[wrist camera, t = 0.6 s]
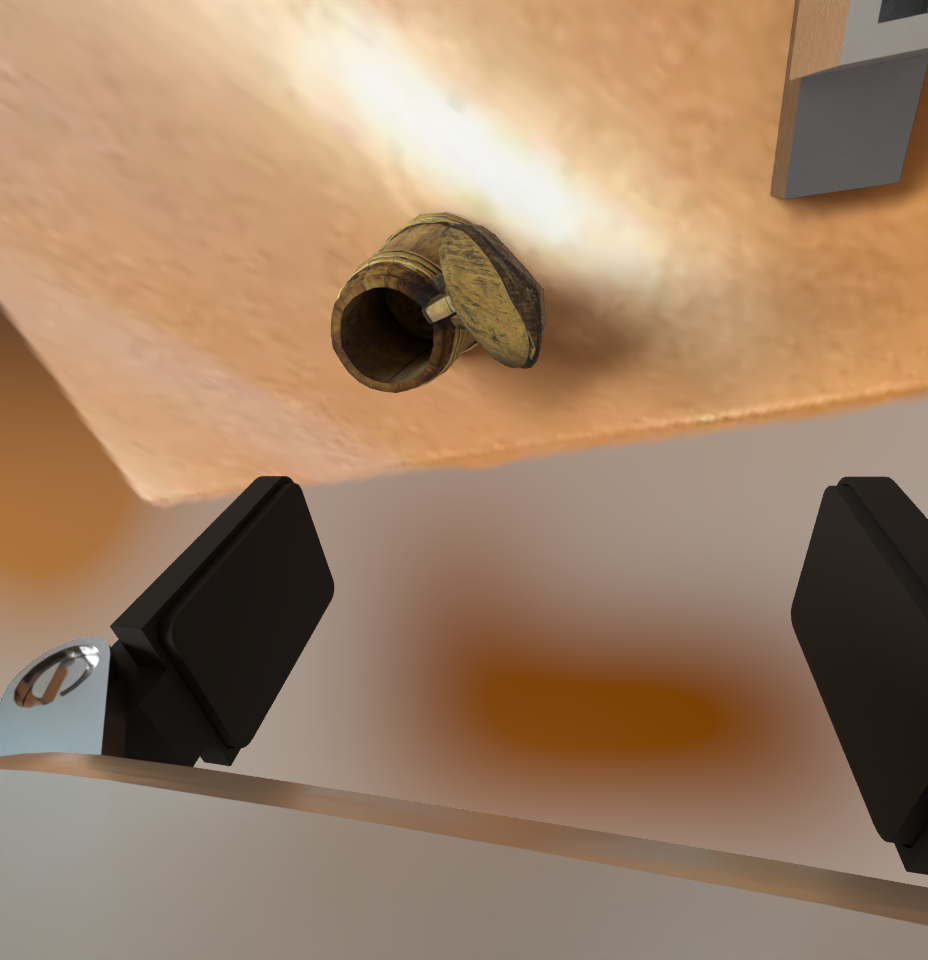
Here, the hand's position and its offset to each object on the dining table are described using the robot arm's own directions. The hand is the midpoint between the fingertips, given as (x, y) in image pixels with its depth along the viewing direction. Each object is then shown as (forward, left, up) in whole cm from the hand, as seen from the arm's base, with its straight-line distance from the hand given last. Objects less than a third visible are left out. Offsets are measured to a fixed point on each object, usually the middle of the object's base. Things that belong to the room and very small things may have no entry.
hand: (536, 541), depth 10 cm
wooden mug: (0, -7, -28) cm, 29 cm away
